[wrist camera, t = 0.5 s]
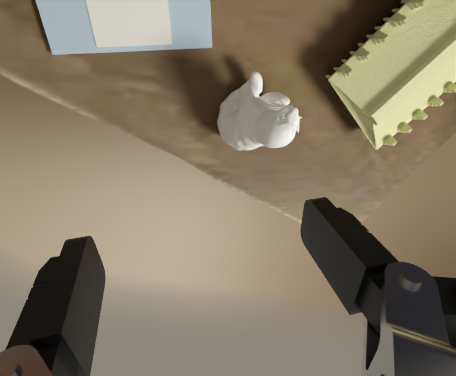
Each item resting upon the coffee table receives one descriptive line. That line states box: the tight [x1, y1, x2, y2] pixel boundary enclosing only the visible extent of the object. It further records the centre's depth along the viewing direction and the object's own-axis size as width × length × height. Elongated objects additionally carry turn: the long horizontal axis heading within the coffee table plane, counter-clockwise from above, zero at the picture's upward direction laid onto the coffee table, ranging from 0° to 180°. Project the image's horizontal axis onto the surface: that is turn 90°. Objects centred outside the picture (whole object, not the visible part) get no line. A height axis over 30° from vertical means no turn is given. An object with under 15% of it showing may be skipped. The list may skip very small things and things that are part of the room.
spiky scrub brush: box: [325, 0, 456, 150], centre depth 34 cm, size 25×14×7 cm, turn 134°
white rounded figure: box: [217, 71, 303, 150], centre depth 31 cm, size 6×8×12 cm
